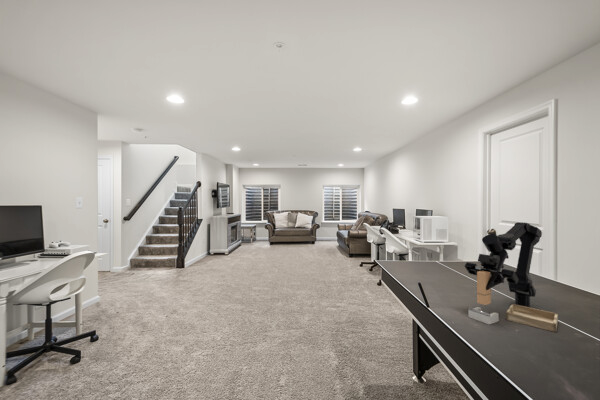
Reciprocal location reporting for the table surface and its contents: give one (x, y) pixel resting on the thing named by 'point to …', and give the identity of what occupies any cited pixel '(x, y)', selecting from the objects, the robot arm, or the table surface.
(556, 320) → the tray
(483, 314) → the white piece
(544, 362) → the table surface
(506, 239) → the robot arm
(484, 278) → the orange post
